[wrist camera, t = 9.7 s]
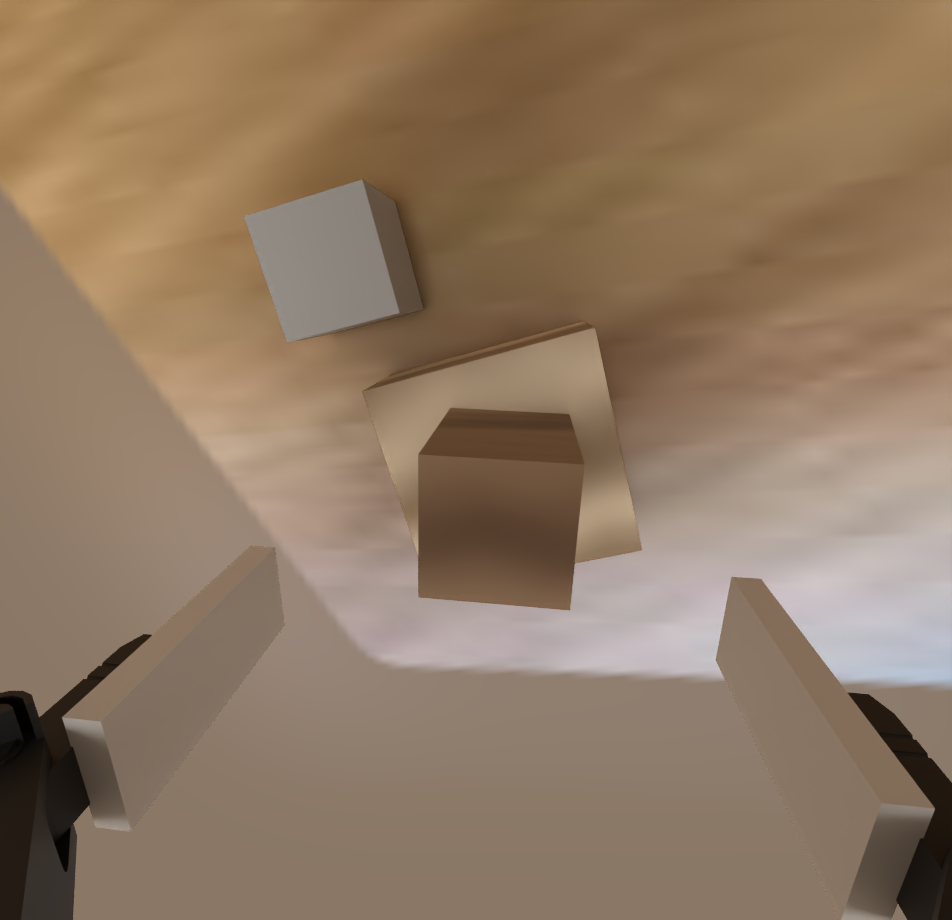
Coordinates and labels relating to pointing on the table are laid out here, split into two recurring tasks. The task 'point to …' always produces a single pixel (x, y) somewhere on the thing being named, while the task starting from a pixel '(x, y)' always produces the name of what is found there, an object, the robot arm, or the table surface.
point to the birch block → (525, 390)
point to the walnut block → (499, 508)
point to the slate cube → (335, 261)
